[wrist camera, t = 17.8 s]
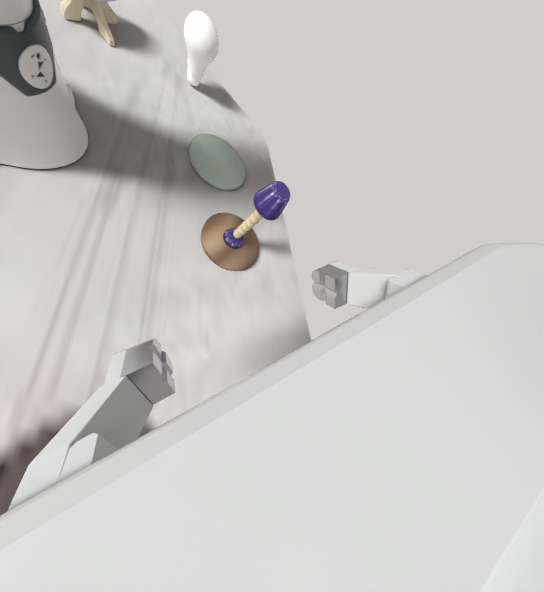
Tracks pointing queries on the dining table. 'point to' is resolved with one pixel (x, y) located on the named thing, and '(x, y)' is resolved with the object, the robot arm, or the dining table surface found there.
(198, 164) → the sage coaster
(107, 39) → the toy table
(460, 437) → the robot arm
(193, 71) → the lightbulb
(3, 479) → the dining table surface
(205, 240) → the walnut coaster
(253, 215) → the toy lamp
